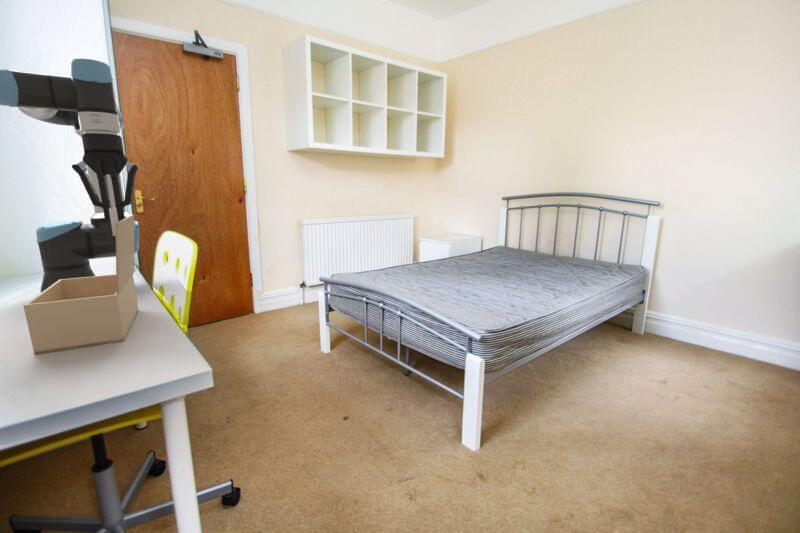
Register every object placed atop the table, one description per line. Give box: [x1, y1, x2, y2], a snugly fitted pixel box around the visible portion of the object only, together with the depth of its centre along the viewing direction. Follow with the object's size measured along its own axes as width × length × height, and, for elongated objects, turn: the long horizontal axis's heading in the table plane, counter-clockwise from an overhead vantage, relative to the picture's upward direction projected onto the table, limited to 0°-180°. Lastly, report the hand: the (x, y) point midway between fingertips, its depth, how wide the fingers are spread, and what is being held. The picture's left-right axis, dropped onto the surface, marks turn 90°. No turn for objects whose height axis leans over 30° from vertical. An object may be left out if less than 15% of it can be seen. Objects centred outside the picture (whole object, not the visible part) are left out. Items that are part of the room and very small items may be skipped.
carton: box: [22, 274, 139, 355], centre depth 96 cm, size 24×16×11 cm, turn 27°
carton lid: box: [115, 214, 135, 294], centre depth 97 cm, size 24×16×1 cm
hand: (117, 235), depth 96 cm, fingers closed
